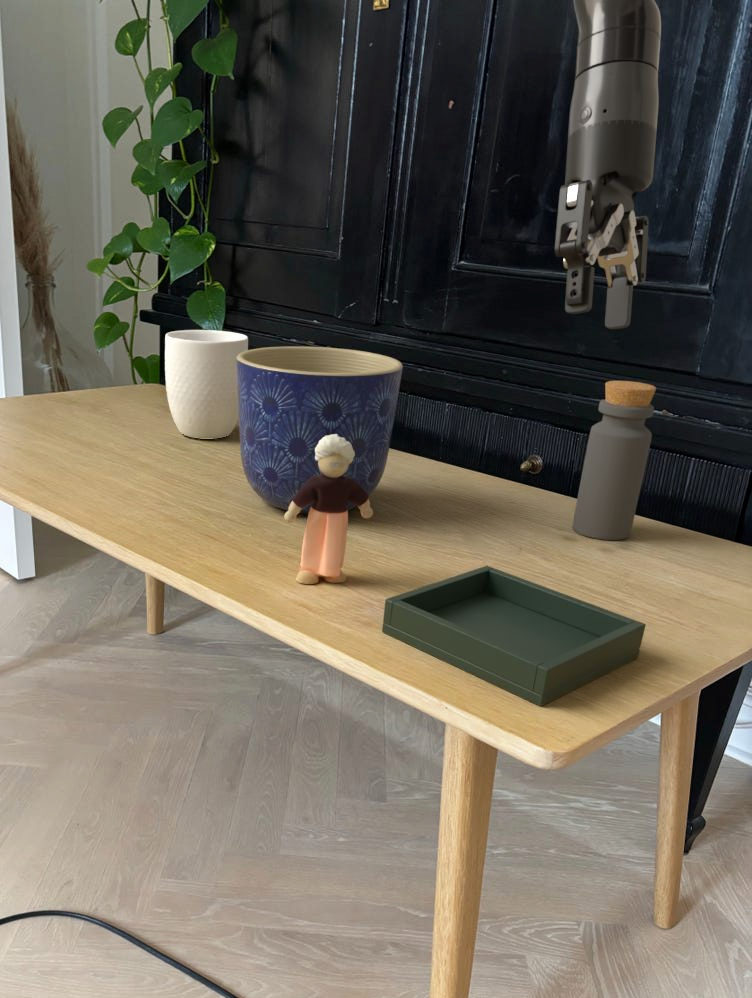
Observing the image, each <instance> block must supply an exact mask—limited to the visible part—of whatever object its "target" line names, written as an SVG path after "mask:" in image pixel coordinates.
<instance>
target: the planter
mask: <svg viewBox="0 0 752 998" xmlns="http://www.w3.org/2000/svg"><path fill="white" fill-rule="evenodd" d="M236 360H237V383H238V407H239V418H238V427H239V429H238V430H239V450H240V460H241V464H242V468H243V473H244V475H245V478H246V480H247V483H248V484H249V487H251V489H252V490H253V491H254V493H255V494H256V495H257V496H258V497H259V499H261V500H263V501H264V502H266V503H267V504H268V505H271V506H273V507H275V508H278V509H281V510H284V511H286V512H287V511H288V508H289V506H290V504H291V502H292V499H293V497H294V496H295V495H296V493H297V492H298V491H299V490H300V489H301V488H302V486H303V485H304V484H305V483H306V482H307V481H308V480H309V479H310V478H311V477H313V476H317V475H321V474H323V473H322V472H321V471H320V469H319V465H318V461H316V460H315V456H316V455H315V448H316V447H317V445H318V443H319V441H320V440H321V439H322V438H323V437H325V436H328V435H333V434H338V436H339V437H342V438H345V440H346V441H348V442H350V443H351V445H352V448H353V450H354V452H355V456H354V458H353V461H352V462H351V463H350V464H349V466H348V469H347V471H346V472H345V473H344V474H343V475H342V476H346V477H348V478H351V479H352V480H354V481H356V482H357V483H359V484H360V485H361V486H362V487H363V488H364V490H365V491H366V492H367V493H368V495H369V497H370V496H371V495H372V494H373V493H375V490H376V489H377V488H378V486H379V484H380V482H381V480H382V477H383V475H384V473H385V470H386V466H387V462H388V458H389V451H390V447H391V440H392V434H393V428H394V422H395V415H396V410H397V404H398V398H399V393H400V387H401V381H402V375H403V369H404V366H403V363H401V361H400V360H398V359H396V358H393V357H390V356H387V355H383V354H379V353H374V352H369V351H363V350H357V349H348V348H337V347H323V346H322V347H321V346H270V347H268V346H267V347H259V348H258V347H257V348H253V349H248V350H247V351H244V352H242V353H240V354H239V355H238V356H237V359H236ZM356 507H358V506H357V505H355V504H352V503H349V502H348V503H347V511H349V510H352V509H354V508H356ZM310 508H311V504H309V505H306V506H304V507H302V509H301V510H300V512H299V513H298V514H306V515H308V514H309V511H310Z"/></svg>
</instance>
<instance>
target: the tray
mask: <svg viewBox="0 0 752 998" xmlns="http://www.w3.org/2000/svg"><path fill="white" fill-rule="evenodd" d="M383 609H384V610H383V619H382V620H383V621H382V622H383V623H382V627H381V628H382V629H381V632H382V633H383V634H386V635H388V636H389V637H392V638H394V639H397V640H399V641H400V642H403V643H405V644H407V645H409V646H411V647H413V648H415V649H418V650H420V651H422V652H424V653H426V654H428V655H430V656H432V657H435V658H437V659H439V660H441V661H443V662H445V663H447V664H449V665H452V666H453V667H456V668H458V669H460V670H462V671H464V672H466V673H469V674H471V675H473V676H475V677H477V678H478V679H481V680H483V681H485V682H488V683H489V684H492V685H494V686H496V687H498V688H500V689H503V690H504V691H507V692H509V693H511V694H513V695H515V696H517V697H520V698H521V699H524V700H526V701H527V702H530V703H532V704H535V705H537V706H538V707H543V706H544V705H547V704H549V703H551V702H553V701H554V700H556V699H559V698H561V697H563V696H564V695H566V694H569V693H570V692H572V691H574V690H576V689H578V688H581V687H583V686H584V685H587V684H588V683H591V682H592V681H594V680H596V679H598V678H600V677H602V676H604V675H606V674H609V673H610V672H612V671H615V670H616V669H618V668H620V667H622V666H624V665H625V664H628V663H630V662H632V661H634V660H636V659H638V658H639V655H640V650H641V646H642V643H643V637H644V634H645V629H646V625H647V624H646V623H644V622H641V621H639V620H636V619H633V618H631V617H628V616H625V615H622V614H619V613H617V612H614V611H611V610H609V609H606V608H603V607H600V606H597V605H596V604H592V603H590V602H586V601H584V600H581V599H579V598H577V597H574V596H571V595H568V594H565V593H562V592H559V591H558V590H555V589H552V588H549V587H546V586H544V585H541V584H538V583H535V582H533V581H530V580H528V579H525V578H522V577H519V576H517V575H513V574H511V573H508V572H506V571H503V570H500V569H497V568H494V567H492V566H489V565H484V566H482V567H479V568H476V569H472V570H469V571H467V572H464V573H461V574H457V575H454V576H451V577H449V578H446V579H442V580H439V581H437V582H433V583H430V584H427V585H423V586H421V587H418V588H415V589H412V590H409V591H406V592H402V593H400V594H397V595H394V596H391V597H388V598H385V601H384V608H383Z"/></svg>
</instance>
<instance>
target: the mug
mask: <svg viewBox="0 0 752 998" xmlns="http://www.w3.org/2000/svg"><path fill="white" fill-rule="evenodd" d="M247 350H249V337H248V336H247V335H246V334H242V333H239V332H232V331H226V330H213V329H184V330H174V331H170V332H167V333H165V337H164V376H165V377H164V379H165V391H166V397H167V402H168V408H169V411H170V415H171V417H172V420H173V421H174V424H175V425H176V428H177V430H178V431H179V433H180V432H181V433H182V434H184V435H188V436H192V437H198V438H221V437H225V438H227V437H229V436H230V435H231V433H232V432H233V431H234V429H235V427H236V425H237V423H239V407H238V383H237V360H236V359H237V356H238V355H239V354H240V353H242V352H244V351H247ZM181 433H180V434H181ZM182 434H181V435H182ZM184 435H183V436H184ZM226 436H227V437H226Z"/></svg>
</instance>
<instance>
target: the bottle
mask: <svg viewBox="0 0 752 998" xmlns="http://www.w3.org/2000/svg"><path fill="white" fill-rule="evenodd" d="M604 385H605V386H604V387H605V399H604V398H603V399H601V400H600V401H599V404H598V412H599V413H601V414H602V419H601V421H598V422H596V423H595V424H593V425H592V426H591V427H590V430H589V431H590V432H589V436H588V441H587V448H586V451H585V457H584V462H583V467H582V471H581V477H580V482H579V486H578V493H577V497H576V503H575V509H574V514H573V521H572V530H574V532H576V533H577V534H580V535H582V536H585V537H588V538H591V539H597V540H602V541H603V540H604V541H620V540H625V539H628V538H629V537H630V535H631V532H632V528H633V524H634V520H635V515H636V512H637V511H636V510H637V506H638V501H639V497H640V494H641V489H642V484H643V480H644V476H645V470H646V467H647V461H648V456H649V452H650V447H651V443H652V437H653V434H652V432H651V431H650V429H649V428H648V427H646V425H645V423H646V420H647V419H649V418H652V417H653V415H654V410H655V406H654V405H652V404H651V402H652V400H653V397H654V395H655V392H656V391H657V387H656V386H654V385H653V384H649V383H645V382H644V383H643V382H640V381H632V380H631V381H630V380H609V381H606V382H605V383H604Z"/></svg>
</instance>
